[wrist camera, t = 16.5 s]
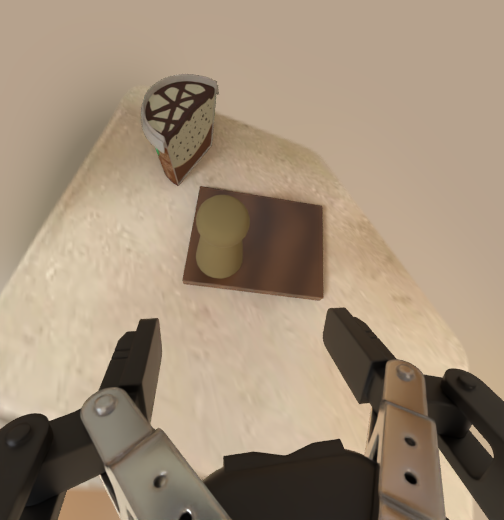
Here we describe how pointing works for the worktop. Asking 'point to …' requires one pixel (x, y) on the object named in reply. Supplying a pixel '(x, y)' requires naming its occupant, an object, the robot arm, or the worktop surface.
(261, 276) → the cutting board
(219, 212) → the cork
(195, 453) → the worktop surface
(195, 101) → the food container
